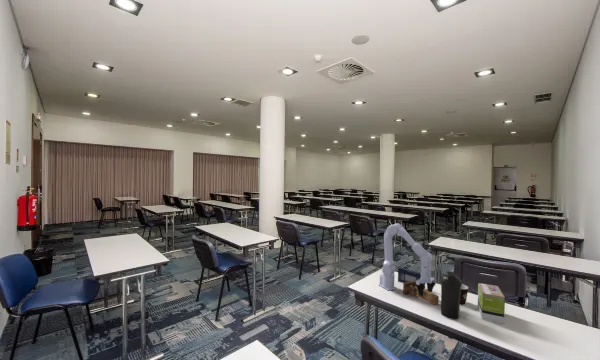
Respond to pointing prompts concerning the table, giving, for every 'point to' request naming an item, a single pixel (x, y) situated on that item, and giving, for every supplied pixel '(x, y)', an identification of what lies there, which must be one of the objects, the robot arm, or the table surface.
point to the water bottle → (450, 295)
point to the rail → (428, 296)
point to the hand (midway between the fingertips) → (425, 294)
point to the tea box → (491, 303)
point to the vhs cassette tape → (408, 275)
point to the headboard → (409, 288)
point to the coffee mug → (463, 294)
